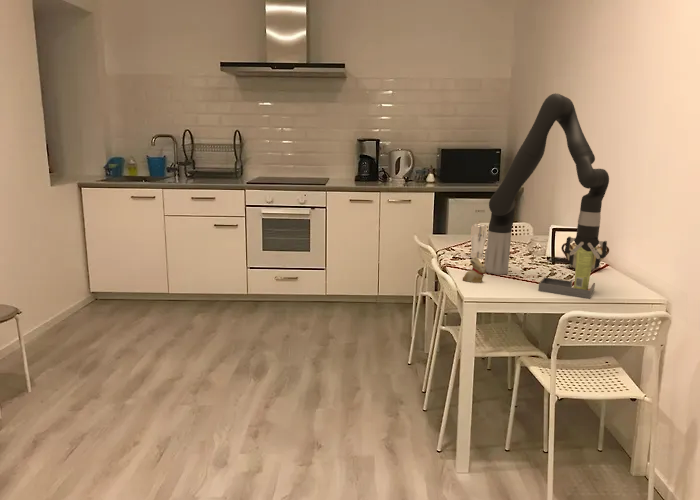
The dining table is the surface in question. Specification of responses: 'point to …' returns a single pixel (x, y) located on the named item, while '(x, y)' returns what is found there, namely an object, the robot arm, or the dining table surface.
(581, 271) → the tube
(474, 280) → the chocolate bunny
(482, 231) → the beer glass
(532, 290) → the dining table surface
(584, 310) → the dining table surface
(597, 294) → the dining table surface
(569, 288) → the channel
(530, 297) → the dining table surface
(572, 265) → the sugar bowl
